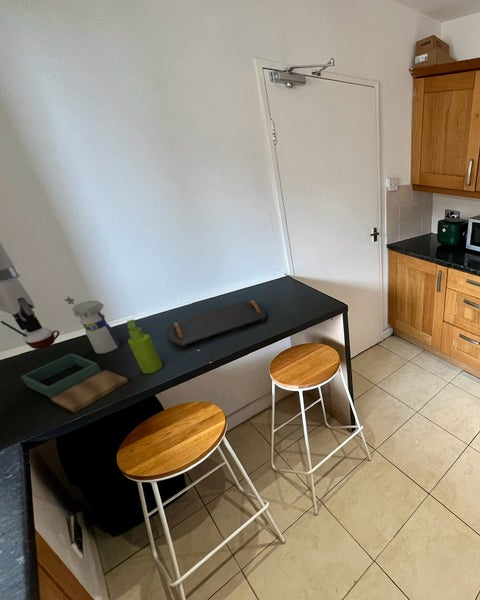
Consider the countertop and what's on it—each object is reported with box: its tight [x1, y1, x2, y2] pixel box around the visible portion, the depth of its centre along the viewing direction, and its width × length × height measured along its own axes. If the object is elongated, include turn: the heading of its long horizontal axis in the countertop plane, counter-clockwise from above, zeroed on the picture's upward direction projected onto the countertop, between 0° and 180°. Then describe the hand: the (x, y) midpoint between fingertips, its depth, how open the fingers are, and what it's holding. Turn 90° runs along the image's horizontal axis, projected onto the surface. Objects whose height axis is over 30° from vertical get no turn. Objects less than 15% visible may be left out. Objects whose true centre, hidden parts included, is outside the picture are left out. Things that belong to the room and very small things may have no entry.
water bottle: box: [64, 296, 121, 354], centre depth 119 cm, size 8×9×25 cm
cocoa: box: [0, 320, 60, 350], centre depth 98 cm, size 10×6×12 cm, turn 133°
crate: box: [20, 352, 103, 399], centre depth 107 cm, size 14×16×4 cm
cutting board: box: [50, 369, 129, 414], centre depth 103 cm, size 15×12×2 cm
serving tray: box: [167, 300, 267, 349], centre depth 139 cm, size 39×23×6 cm, turn 131°
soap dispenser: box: [126, 319, 163, 375], centre depth 109 cm, size 6×7×20 cm
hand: (31, 328), depth 98 cm, fingers closed on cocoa, 3 cm apart
